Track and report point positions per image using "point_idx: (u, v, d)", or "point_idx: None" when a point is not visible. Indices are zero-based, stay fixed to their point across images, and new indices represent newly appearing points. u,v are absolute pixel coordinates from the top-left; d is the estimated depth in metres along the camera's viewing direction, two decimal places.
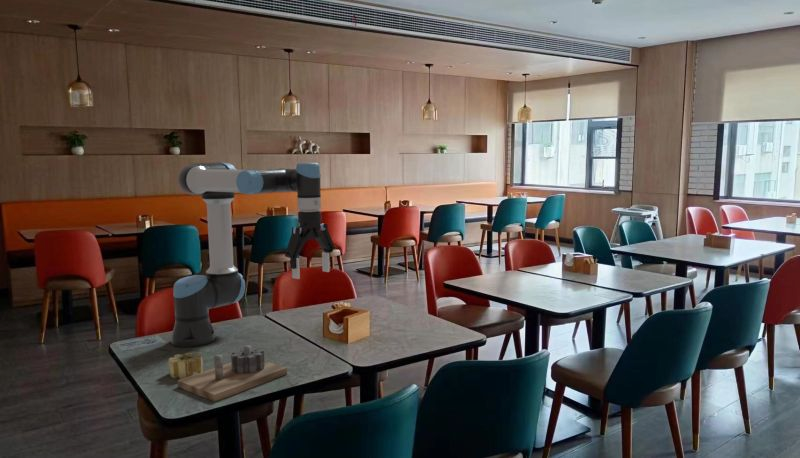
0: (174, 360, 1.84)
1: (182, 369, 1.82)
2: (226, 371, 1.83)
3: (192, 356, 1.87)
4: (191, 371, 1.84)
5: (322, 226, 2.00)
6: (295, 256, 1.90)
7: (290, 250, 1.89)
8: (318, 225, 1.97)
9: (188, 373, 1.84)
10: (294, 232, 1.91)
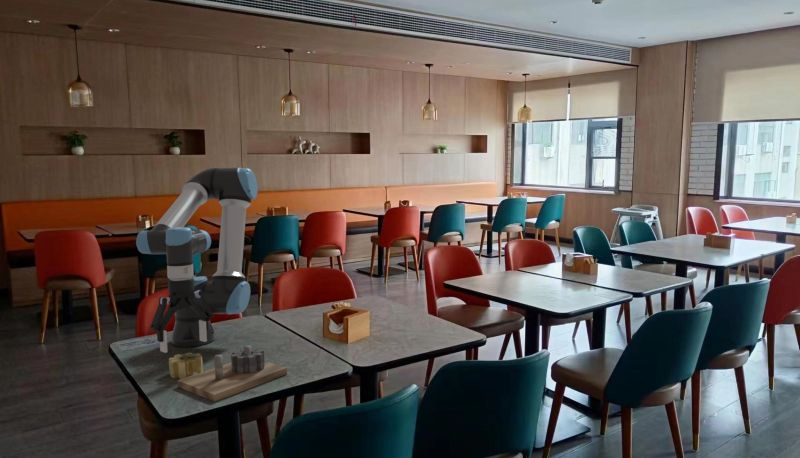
0: (174, 360, 1.84)
1: (182, 369, 1.82)
2: (226, 371, 1.83)
3: (192, 356, 1.87)
4: (191, 371, 1.84)
5: (197, 294, 1.88)
6: (161, 329, 1.78)
7: (155, 323, 1.77)
8: (191, 293, 1.85)
9: (188, 373, 1.84)
10: (161, 303, 1.79)
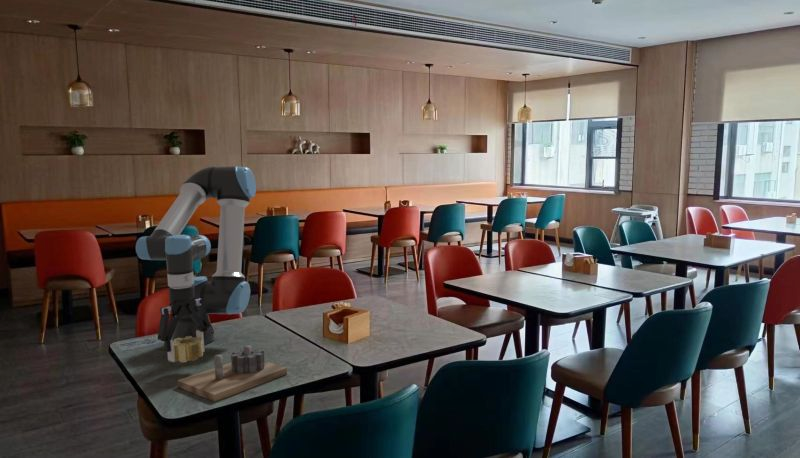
0: (174, 344, 1.84)
1: (182, 353, 1.82)
2: (226, 371, 1.83)
3: (192, 340, 1.87)
4: (191, 355, 1.84)
5: (198, 301, 1.89)
6: (168, 339, 1.81)
7: (161, 334, 1.79)
8: (192, 300, 1.86)
9: (188, 357, 1.84)
10: (163, 313, 1.80)
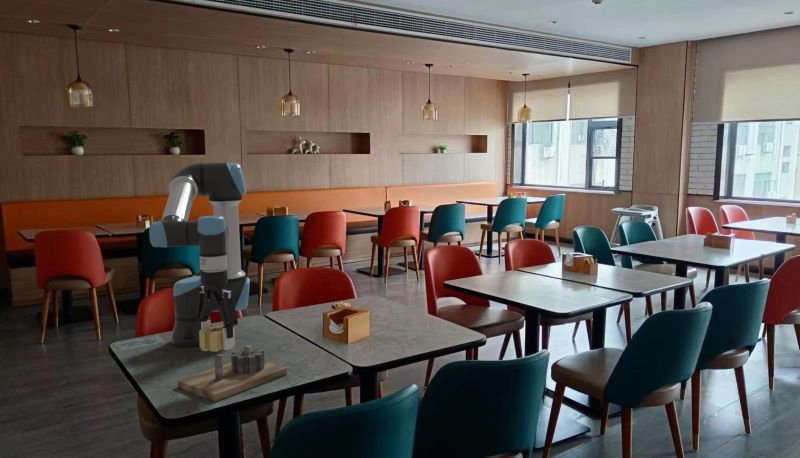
0: (210, 327, 1.77)
1: None
2: (226, 371, 1.83)
3: (217, 331, 1.73)
4: None
5: None
6: (199, 318, 1.77)
7: None
8: (217, 289, 1.71)
9: None
10: None
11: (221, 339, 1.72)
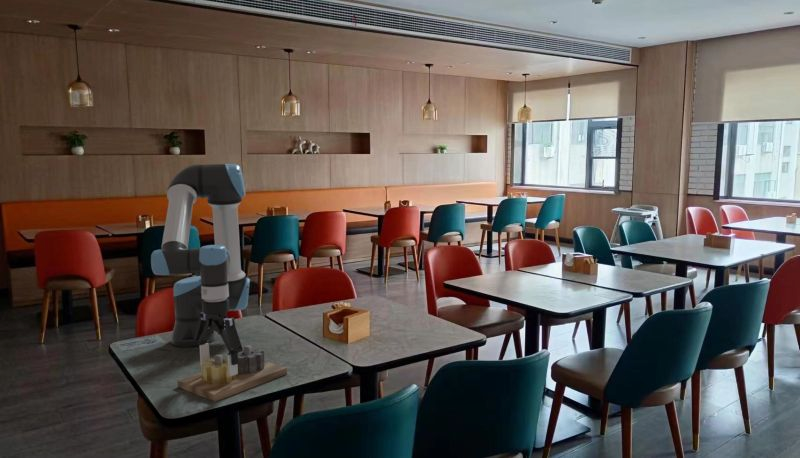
0: (212, 359, 1.79)
1: None
2: None
3: (219, 364, 1.74)
4: None
5: None
6: (198, 342, 1.79)
7: None
8: (218, 318, 1.72)
9: None
10: None
11: (223, 372, 1.73)
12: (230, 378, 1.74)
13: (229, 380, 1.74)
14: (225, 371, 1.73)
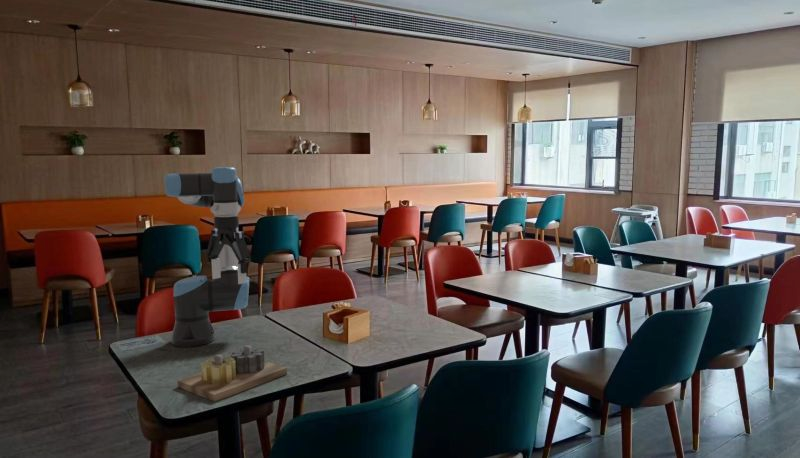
0: (212, 359, 1.79)
1: None
2: None
3: (219, 364, 1.74)
4: None
5: None
6: (210, 256, 1.98)
7: None
8: (229, 232, 1.91)
9: None
10: None
11: (223, 372, 1.73)
12: (230, 378, 1.74)
13: (229, 380, 1.74)
14: (225, 371, 1.73)
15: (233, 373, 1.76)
